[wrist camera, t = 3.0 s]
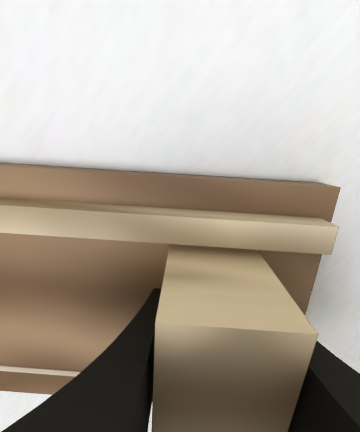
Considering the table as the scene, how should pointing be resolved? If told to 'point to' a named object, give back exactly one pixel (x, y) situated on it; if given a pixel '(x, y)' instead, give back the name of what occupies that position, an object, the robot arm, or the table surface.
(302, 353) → the block
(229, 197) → the walnut board
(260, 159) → the table surface
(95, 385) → the robot arm
